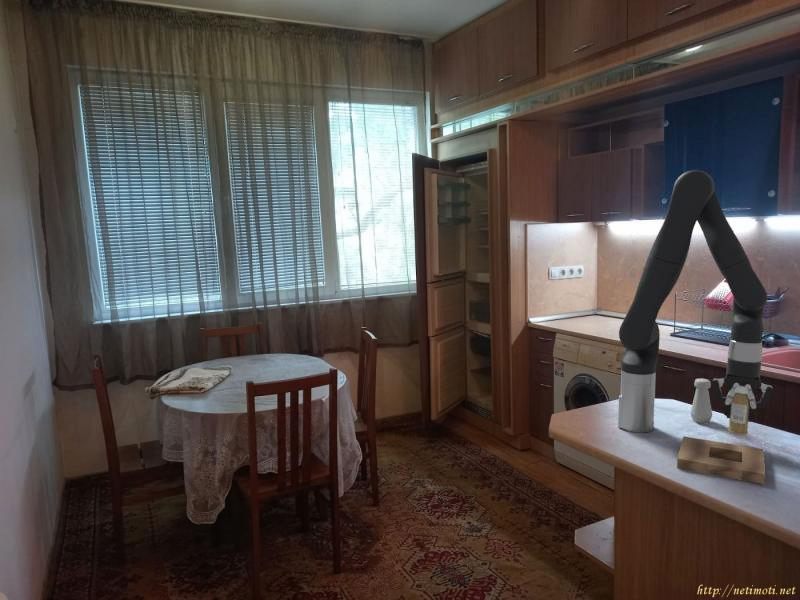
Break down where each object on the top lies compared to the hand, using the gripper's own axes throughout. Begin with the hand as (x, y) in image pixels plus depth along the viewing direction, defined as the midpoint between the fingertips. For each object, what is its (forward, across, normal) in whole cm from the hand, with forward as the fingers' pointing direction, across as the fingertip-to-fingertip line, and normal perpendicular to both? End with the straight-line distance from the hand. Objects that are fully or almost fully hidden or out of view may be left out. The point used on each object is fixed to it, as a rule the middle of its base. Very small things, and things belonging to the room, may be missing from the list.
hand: (739, 418), depth 146 cm
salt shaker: (+8, -9, +15) cm, 19 cm away
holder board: (+7, -4, -15) cm, 17 cm away
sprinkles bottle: (+4, 0, 0) cm, 4 cm away
